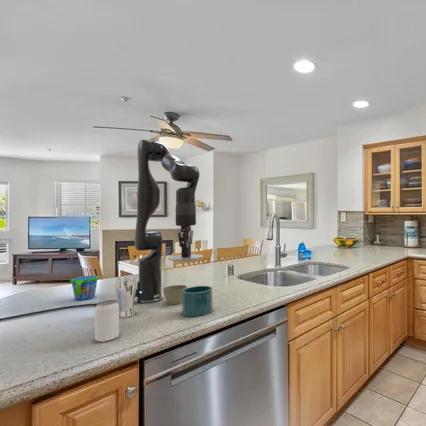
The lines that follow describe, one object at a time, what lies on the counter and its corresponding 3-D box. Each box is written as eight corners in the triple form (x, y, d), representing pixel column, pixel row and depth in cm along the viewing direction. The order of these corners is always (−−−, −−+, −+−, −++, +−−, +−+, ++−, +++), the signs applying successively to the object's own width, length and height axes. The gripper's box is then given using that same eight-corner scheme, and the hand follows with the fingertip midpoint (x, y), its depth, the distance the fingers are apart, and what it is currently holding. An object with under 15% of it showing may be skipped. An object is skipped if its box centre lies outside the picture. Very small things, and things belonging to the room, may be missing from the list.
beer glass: (140, 313, 122) (139, 277, 122) (124, 319, 115) (123, 281, 115) (128, 311, 124) (127, 276, 124) (111, 317, 118) (111, 279, 118)
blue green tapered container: (81, 294, 150) (81, 274, 150) (105, 293, 152) (104, 273, 152) (62, 304, 135) (62, 282, 135) (88, 302, 137) (88, 280, 137)
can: (103, 334, 101) (103, 299, 101) (123, 333, 101) (123, 299, 101) (90, 342, 95) (90, 305, 94) (111, 341, 95) (111, 305, 95)
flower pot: (177, 307, 130) (177, 290, 129) (157, 305, 132) (157, 289, 131) (191, 300, 139) (191, 285, 139) (173, 299, 141) (173, 284, 141)
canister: (182, 318, 115) (182, 294, 115) (182, 309, 126) (182, 287, 126) (213, 314, 120) (213, 291, 120) (211, 305, 131) (210, 284, 131)
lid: (168, 263, 111) (168, 246, 111) (169, 258, 122) (168, 243, 122) (204, 260, 116) (204, 245, 116) (202, 256, 128) (201, 242, 128)
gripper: (180, 213, 125) (181, 253, 125) (170, 214, 111) (170, 259, 111) (199, 213, 127) (199, 253, 127) (191, 213, 113) (191, 258, 113)
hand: (186, 255), depth 119 cm, fingers closed on lid, 3 cm apart
